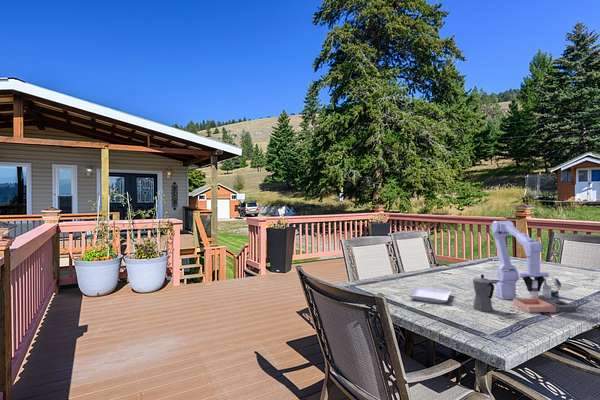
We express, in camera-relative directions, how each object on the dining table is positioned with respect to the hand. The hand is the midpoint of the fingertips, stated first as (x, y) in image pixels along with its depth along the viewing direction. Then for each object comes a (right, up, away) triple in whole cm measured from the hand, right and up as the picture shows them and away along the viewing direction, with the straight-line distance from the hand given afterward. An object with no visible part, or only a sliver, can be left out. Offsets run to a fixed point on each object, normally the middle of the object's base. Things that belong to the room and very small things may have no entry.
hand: (533, 290), depth 178 cm
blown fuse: (0, -3, 0) cm, 3 cm away
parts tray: (0, -9, 0) cm, 9 cm away
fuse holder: (+13, -9, +4) cm, 16 cm away
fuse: (+13, -9, +9) cm, 18 cm away
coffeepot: (-26, -10, 0) cm, 28 cm away
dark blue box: (+24, -8, +19) cm, 31 cm away
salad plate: (-45, -10, +22) cm, 51 cm away
